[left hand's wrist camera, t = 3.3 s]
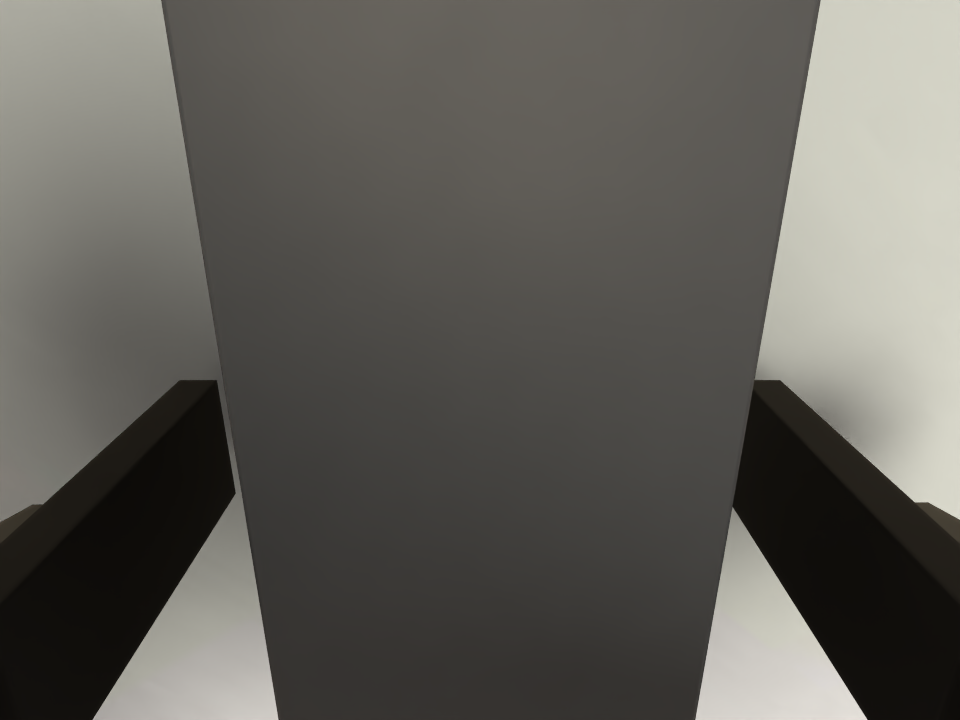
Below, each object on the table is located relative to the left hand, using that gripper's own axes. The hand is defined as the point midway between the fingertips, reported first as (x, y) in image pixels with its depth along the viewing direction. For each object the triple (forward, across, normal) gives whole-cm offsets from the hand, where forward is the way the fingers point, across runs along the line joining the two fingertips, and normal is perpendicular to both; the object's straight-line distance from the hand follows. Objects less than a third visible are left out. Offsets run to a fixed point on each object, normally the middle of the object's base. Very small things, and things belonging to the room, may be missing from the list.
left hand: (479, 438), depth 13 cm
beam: (+2, 0, -34) cm, 34 cm away
